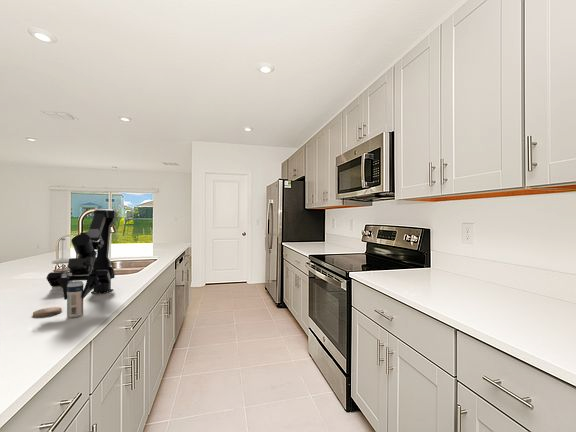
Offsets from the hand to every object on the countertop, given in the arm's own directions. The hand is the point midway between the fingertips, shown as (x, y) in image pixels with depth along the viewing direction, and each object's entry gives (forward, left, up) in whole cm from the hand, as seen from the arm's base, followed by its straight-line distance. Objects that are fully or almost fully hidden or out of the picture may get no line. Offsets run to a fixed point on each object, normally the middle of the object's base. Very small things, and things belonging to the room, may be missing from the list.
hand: (73, 298), depth 100 cm
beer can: (-1, -1, -7) cm, 7 cm away
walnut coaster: (-1, -13, -7) cm, 14 cm away
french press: (-28, -38, -7) cm, 48 cm away
